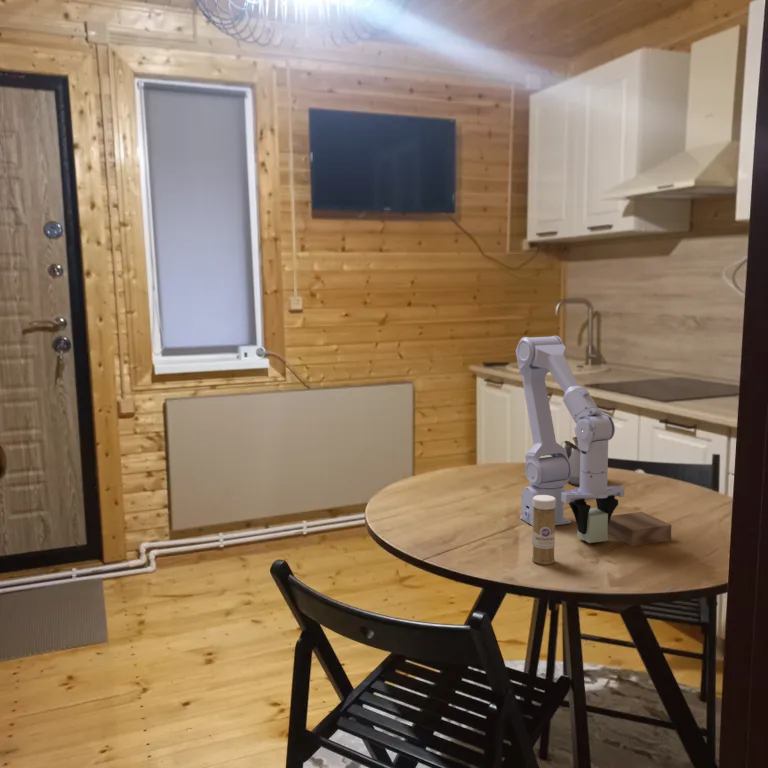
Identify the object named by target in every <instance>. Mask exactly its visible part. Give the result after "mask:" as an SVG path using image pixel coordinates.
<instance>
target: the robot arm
mask: <svg viewBox="0 0 768 768" xmlns="http://www.w3.org/2000/svg"><path fill="white" fill-rule="evenodd" d="M566 353H567V346H565V344H564V342H563V340H562V339H561V337H560V336H558V335H552V336H537V337H535V336H534V337H533V336H532V337H527V336H523V337H522V338H520V339H519V342H518V344H517V346H516V349H515V354H516V355H515V357H516V360H517V361H516V362H517V366H518V371H519V374H520V375H521V381H522V384H523V385H522V386H523V392H524V397H525V403H526V408H527V409H526V410H527V414H528V419H529V420H528V421H529V427H530V431H531V432H530V433H531V437H532V443H533V445H532V447H531V448H530V449H529V450H528V451H527V452H526V454H525V455H524V457H525V467H524V472H525V473H524V474H525V476H526V478H527V481H528V483H529V486H526V487H524V488H523V489H522V491H521V515H520V516H519V519H521V520H523V521H524V522H526V523H527V524H529V525H531V526H532V527H533V497H534V496H536V495H549V496H553V497H555V499H556V507H555V526H560V525H568V524H571V523H572V521H571V520H569V519H568V518H566V517H564V511H565V510H564V508H565V507H564V505H565V504H568V505H569V507H570V509H571V511H572V514H573V515H574V519H575V523H576V527H577V532H578V531H579V532H580V533H582V534H586V532H587V519H588V513H589V510H590V508H592V507H591V505H590V504H587V502H586V501H589V500H595V503H596V508H597V509H599V510H601V511H603V512H605V513H607V514H608V523H609V520H610V518H611V516H613V513H614V512H615V510H616V508H617V506H618V505H619V499H617V498H616V497H619V498H622V497H625V487H623V486H620V485H611V486H610V485H609V486H608V471H609V470H608V467H609V466H608V462H609V441H610V440H612V438H613V437H614V436H615V431H616V428H615V423H614V421H613V418H612V416H611V415H610V414H608V413H606V412H604V411H603V410H601V409H599V407H598V405H597V404H596V402H595V400H594V399H593V397H592V395H591V394H590V392H589V390H588V389H587V388H586V387H585V386H584V387H583V386H580V385H579V383H578V382H577V379H576V377H575V375H574V373H573V371H572V369H571V366H570V365H569V363H568V360H567V358H566ZM548 373H550V375H551V376H552V377H553V379H554V380H555V381H556V383H557V384H558V386H559V387H560V389H561V390H562V392H563V393H564V395H563V398H562V401H563V403H564V405H565V407H566V409H567V411H568V412H569V414H570V416H571V417H572V420H573V421H574V423H575V427H574V434H575V437H577V439H578V447H579V449H580V486H579V487H578V488H575V489H570V490H567V491H565V486H566V485H567V484H568V481H569V479H570V477H571V475H572V465H571V462H570V460H569V456H568V454H567V453H568V451H567V448H566V447H564V448H563V445H562V444H559V443H558V442H557V439H556V433H555V429H554V428H555V427H554V422H553V417H552V410H551V406H550V402H549V394H548V390H547V389H548V388H547V384H546V383H547V382H546V376H547V375H548ZM561 445H562V446H561ZM544 456H547V457H544Z"/></svg>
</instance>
